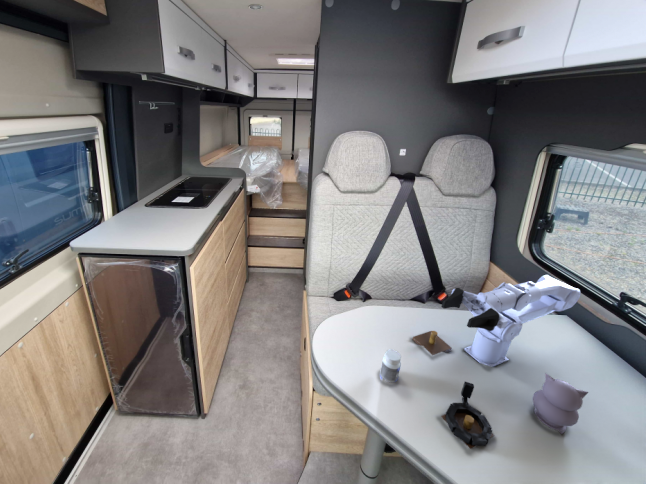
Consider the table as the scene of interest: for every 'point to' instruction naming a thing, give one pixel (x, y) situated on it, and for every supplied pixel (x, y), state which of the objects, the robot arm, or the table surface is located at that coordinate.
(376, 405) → the table surface
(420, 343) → the tall peg stand
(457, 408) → the hanger ring
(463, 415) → the short peg stand
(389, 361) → the pill bottle
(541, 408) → the cat figurine
